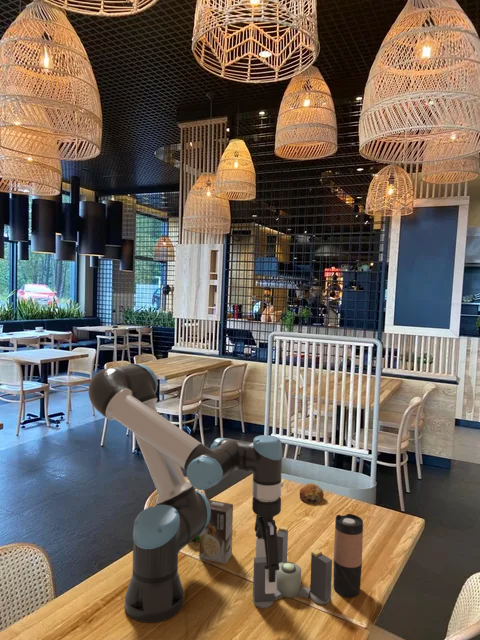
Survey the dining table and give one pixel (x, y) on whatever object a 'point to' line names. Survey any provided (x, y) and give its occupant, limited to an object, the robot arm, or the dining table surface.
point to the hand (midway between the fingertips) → (265, 576)
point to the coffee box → (217, 533)
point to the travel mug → (348, 555)
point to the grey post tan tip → (320, 578)
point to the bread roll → (311, 493)
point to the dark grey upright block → (261, 585)
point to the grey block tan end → (282, 543)
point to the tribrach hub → (289, 581)
